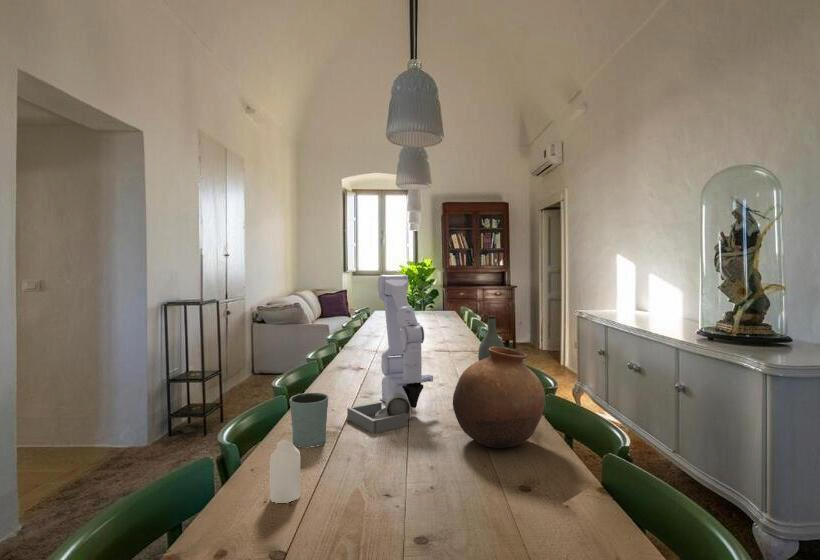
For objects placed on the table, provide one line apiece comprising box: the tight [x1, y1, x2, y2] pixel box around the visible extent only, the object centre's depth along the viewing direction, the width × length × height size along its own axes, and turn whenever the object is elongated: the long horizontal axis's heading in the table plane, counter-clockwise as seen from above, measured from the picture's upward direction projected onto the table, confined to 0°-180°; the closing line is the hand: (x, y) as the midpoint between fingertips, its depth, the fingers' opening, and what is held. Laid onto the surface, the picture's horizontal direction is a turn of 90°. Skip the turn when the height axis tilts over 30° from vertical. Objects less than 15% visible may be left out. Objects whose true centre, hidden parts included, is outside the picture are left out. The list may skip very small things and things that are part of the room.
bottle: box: [477, 314, 506, 361], centre depth 160 cm, size 9×9×30 cm
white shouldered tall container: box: [269, 439, 302, 504], centre depth 97 cm, size 6×12×6 cm
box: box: [346, 401, 409, 434], centre depth 144 cm, size 16×12×4 cm
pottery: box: [452, 347, 546, 449], centre depth 125 cm, size 23×23×25 cm
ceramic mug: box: [374, 393, 412, 419], centre depth 147 cm, size 11×8×8 cm
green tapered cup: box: [289, 392, 329, 448], centre depth 128 cm, size 10×10×12 cm
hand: (412, 407), depth 151 cm, fingers closed
